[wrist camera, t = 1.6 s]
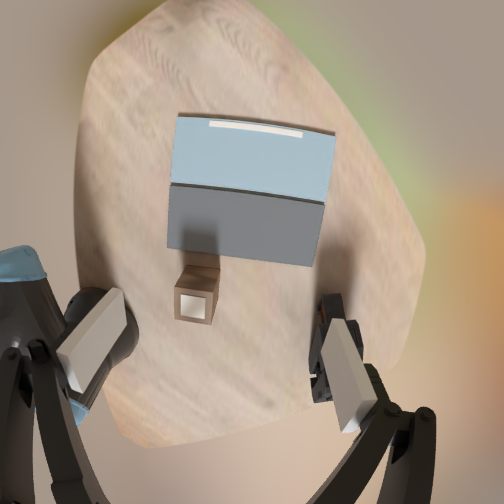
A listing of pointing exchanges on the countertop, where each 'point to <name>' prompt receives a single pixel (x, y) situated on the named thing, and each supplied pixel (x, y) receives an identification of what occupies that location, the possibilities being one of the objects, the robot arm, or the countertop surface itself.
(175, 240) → the mat
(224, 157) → the mat
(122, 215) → the countertop surface
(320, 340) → the tool
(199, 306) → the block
